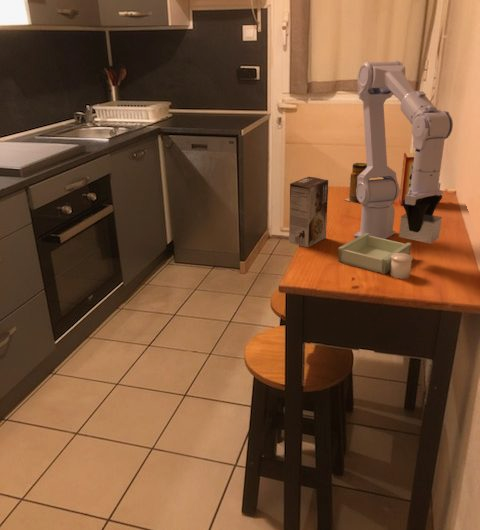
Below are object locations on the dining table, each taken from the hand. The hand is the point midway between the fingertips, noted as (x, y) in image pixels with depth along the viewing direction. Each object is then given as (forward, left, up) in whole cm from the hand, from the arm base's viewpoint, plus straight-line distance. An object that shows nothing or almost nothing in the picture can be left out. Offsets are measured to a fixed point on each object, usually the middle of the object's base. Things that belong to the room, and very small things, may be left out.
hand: (418, 228), depth 117 cm
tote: (+4, -9, -9) cm, 13 cm away
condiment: (-40, -37, -9) cm, 55 cm away
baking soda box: (-47, -21, -9) cm, 52 cm away
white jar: (+8, 0, -9) cm, 12 cm away
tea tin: (0, 0, -2) cm, 2 cm away
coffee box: (+3, -29, -9) cm, 30 cm away
